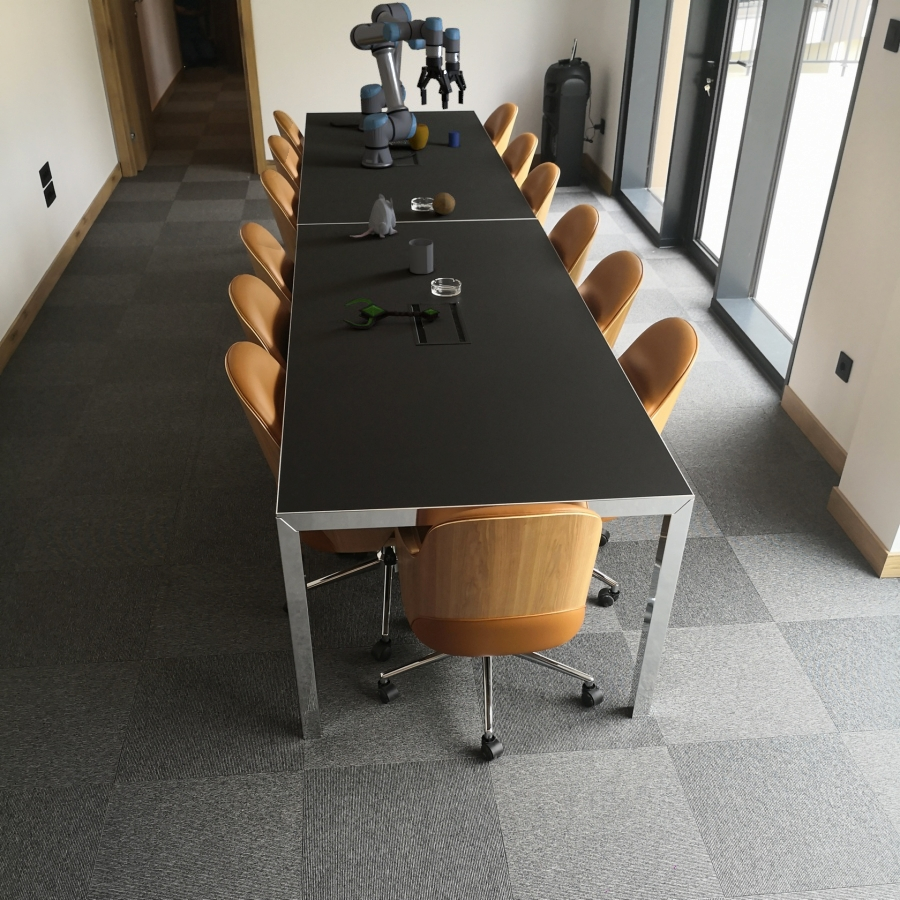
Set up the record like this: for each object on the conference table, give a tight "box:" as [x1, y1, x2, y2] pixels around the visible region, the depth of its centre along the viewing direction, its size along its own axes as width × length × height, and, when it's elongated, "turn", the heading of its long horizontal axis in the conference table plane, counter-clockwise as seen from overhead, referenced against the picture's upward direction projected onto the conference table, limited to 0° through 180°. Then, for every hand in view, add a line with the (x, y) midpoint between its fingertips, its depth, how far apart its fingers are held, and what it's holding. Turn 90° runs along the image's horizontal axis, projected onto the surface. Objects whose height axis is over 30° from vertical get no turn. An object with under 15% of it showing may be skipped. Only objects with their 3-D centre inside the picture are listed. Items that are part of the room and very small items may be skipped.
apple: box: [407, 122, 429, 151], centre depth 451 cm, size 11×11×13 cm
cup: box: [408, 237, 434, 275], centre depth 305 cm, size 8×8×10 cm
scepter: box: [342, 297, 441, 330], centre depth 270 cm, size 6×13×30 cm
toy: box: [350, 193, 398, 239], centre depth 333 cm, size 9×24×15 cm, turn 137°
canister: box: [448, 130, 460, 148], centre depth 459 cm, size 6×6×7 cm
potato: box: [431, 192, 456, 216], centre depth 360 cm, size 10×14×8 cm
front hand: (434, 106), depth 395 cm, fingers open, 13 cm apart
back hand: (452, 105), depth 453 cm, fingers open, 13 cm apart
